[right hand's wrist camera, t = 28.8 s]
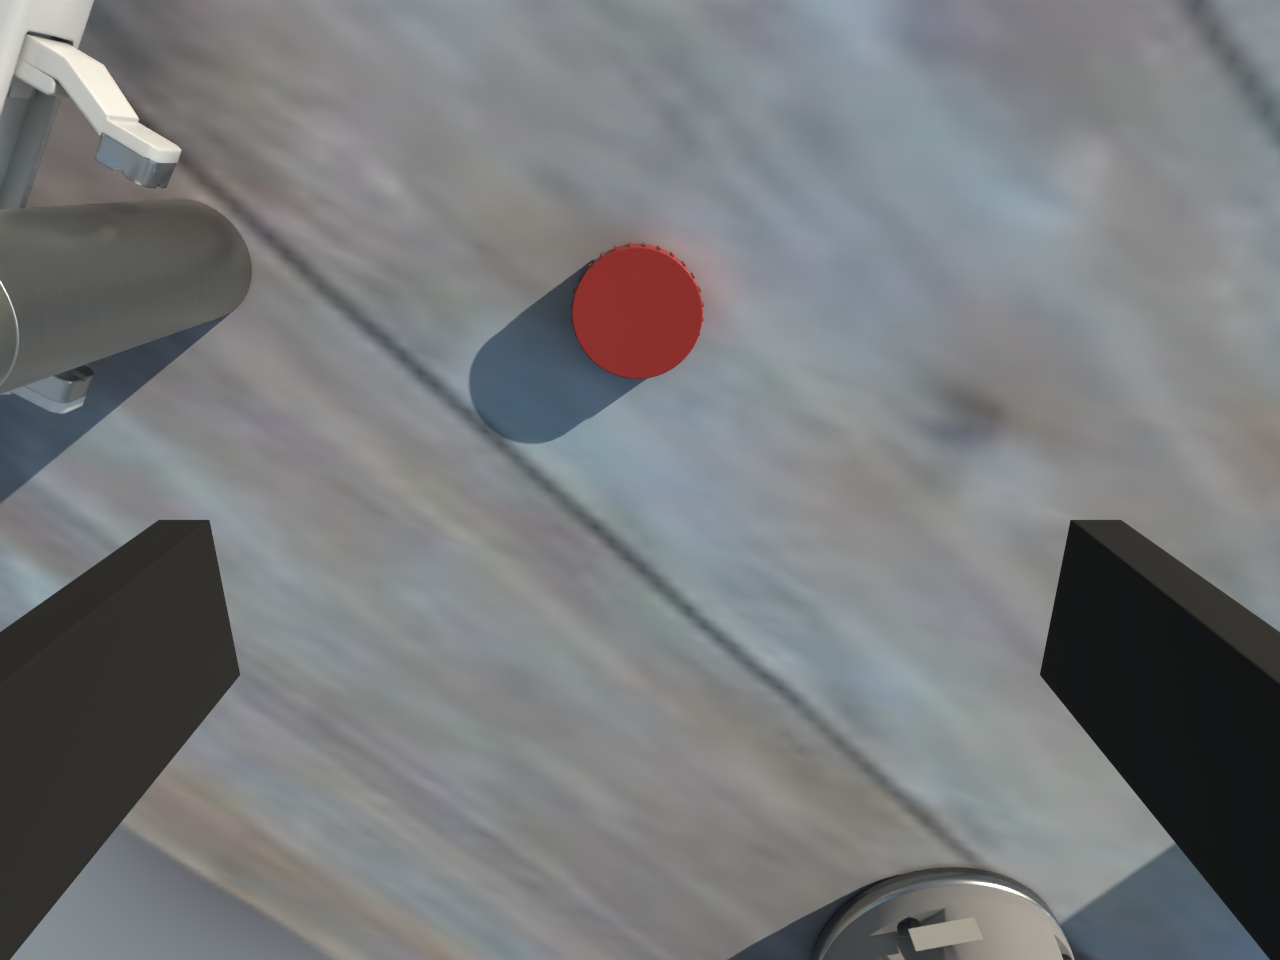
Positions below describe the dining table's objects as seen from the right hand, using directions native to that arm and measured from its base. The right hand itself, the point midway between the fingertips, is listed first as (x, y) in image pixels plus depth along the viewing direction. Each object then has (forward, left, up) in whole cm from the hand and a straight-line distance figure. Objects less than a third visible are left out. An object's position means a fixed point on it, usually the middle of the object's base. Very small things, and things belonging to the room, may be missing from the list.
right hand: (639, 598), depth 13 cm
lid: (+1, 0, -24) cm, 24 cm away
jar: (-3, +19, -25) cm, 32 cm away
